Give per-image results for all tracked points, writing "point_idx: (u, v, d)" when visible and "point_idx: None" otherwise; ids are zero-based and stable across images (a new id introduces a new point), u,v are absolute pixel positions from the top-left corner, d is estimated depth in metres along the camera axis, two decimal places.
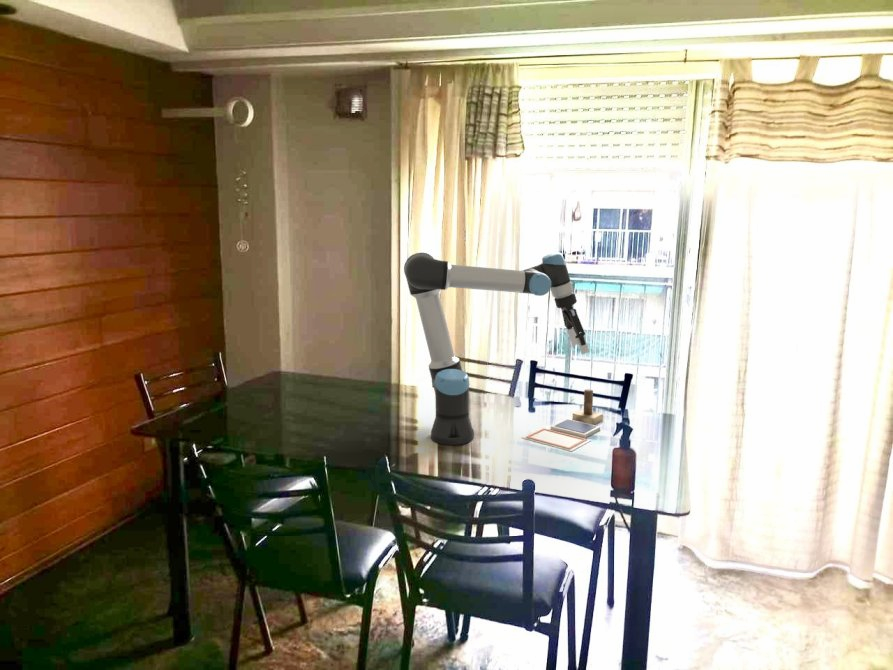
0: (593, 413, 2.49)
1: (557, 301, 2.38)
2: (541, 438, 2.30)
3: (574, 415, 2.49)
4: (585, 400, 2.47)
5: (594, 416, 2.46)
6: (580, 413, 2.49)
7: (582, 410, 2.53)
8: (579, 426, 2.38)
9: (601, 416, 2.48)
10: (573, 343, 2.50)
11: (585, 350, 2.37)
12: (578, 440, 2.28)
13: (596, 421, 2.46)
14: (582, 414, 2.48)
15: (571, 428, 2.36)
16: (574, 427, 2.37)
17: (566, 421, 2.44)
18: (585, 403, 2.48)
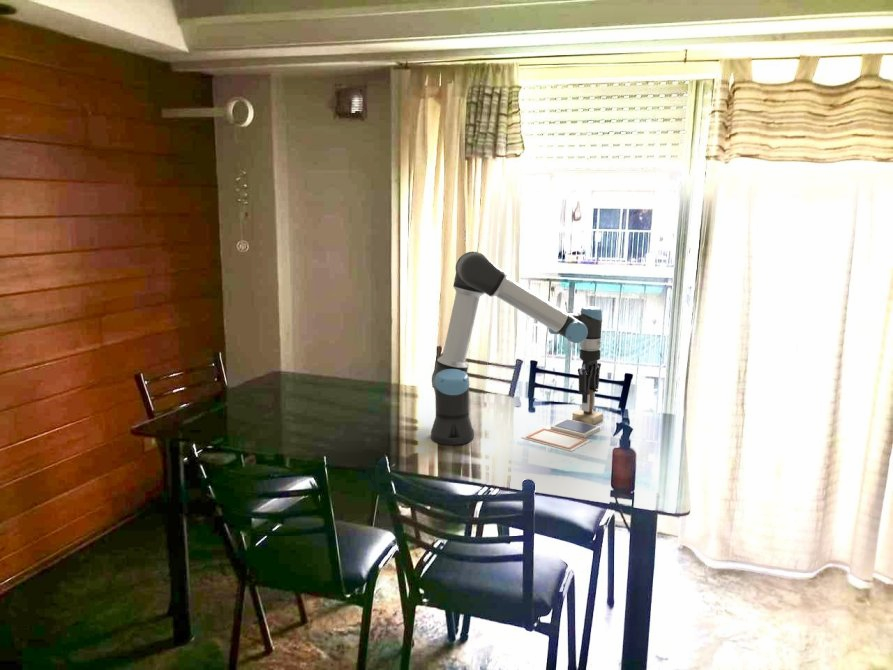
0: (593, 413, 2.49)
1: None
2: (541, 438, 2.30)
3: (574, 415, 2.49)
4: None
5: (594, 416, 2.46)
6: (580, 413, 2.49)
7: None
8: (579, 426, 2.38)
9: (601, 416, 2.48)
10: None
11: (585, 409, 2.47)
12: (578, 440, 2.28)
13: (596, 421, 2.46)
14: (582, 414, 2.48)
15: (571, 428, 2.36)
16: (574, 427, 2.37)
17: (566, 421, 2.44)
18: None
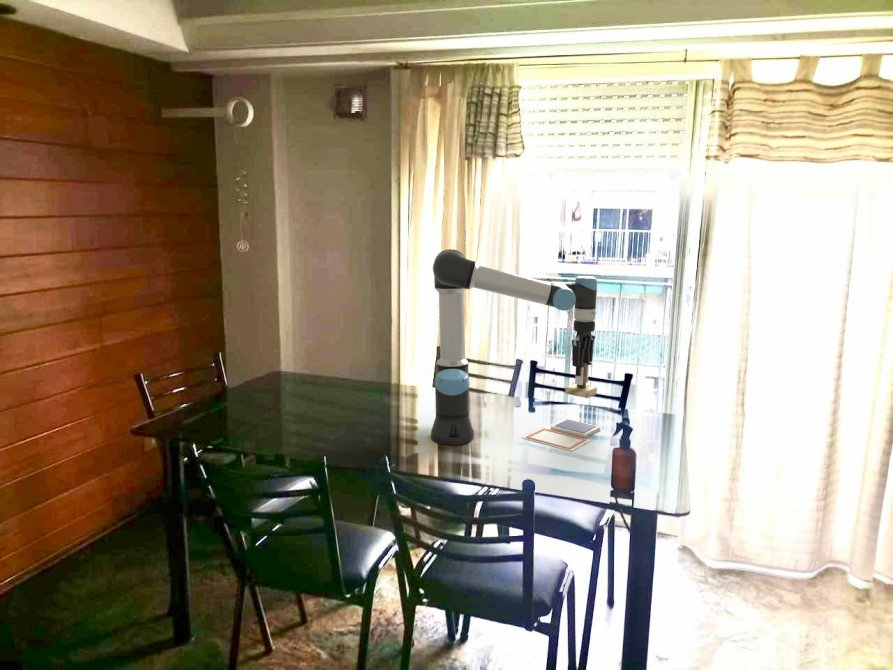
0: (587, 386, 2.42)
1: None
2: (541, 438, 2.30)
3: (567, 388, 2.41)
4: None
5: (588, 389, 2.38)
6: (573, 387, 2.41)
7: (575, 384, 2.45)
8: (579, 426, 2.38)
9: (595, 389, 2.41)
10: None
11: (578, 382, 2.39)
12: (578, 440, 2.28)
13: (590, 394, 2.38)
14: (575, 387, 2.41)
15: (571, 428, 2.36)
16: (574, 427, 2.37)
17: (566, 421, 2.44)
18: None
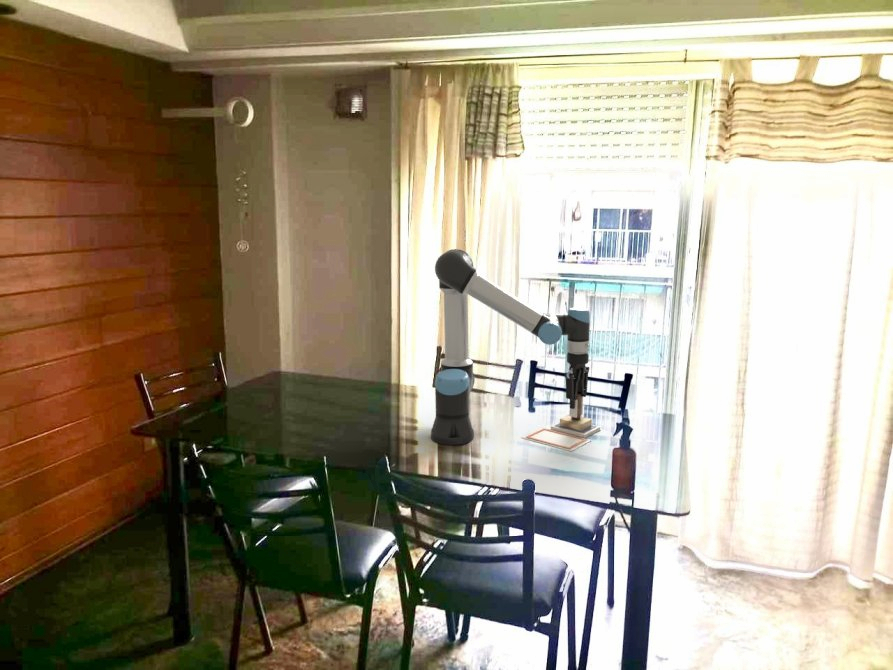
0: (581, 418, 2.39)
1: (567, 354, 2.35)
2: (541, 438, 2.30)
3: (561, 421, 2.38)
4: None
5: (582, 422, 2.35)
6: (568, 419, 2.38)
7: None
8: None
9: (589, 422, 2.37)
10: None
11: (573, 414, 2.36)
12: (578, 440, 2.28)
13: (584, 427, 2.35)
14: (570, 419, 2.37)
15: None
16: None
17: None
18: None
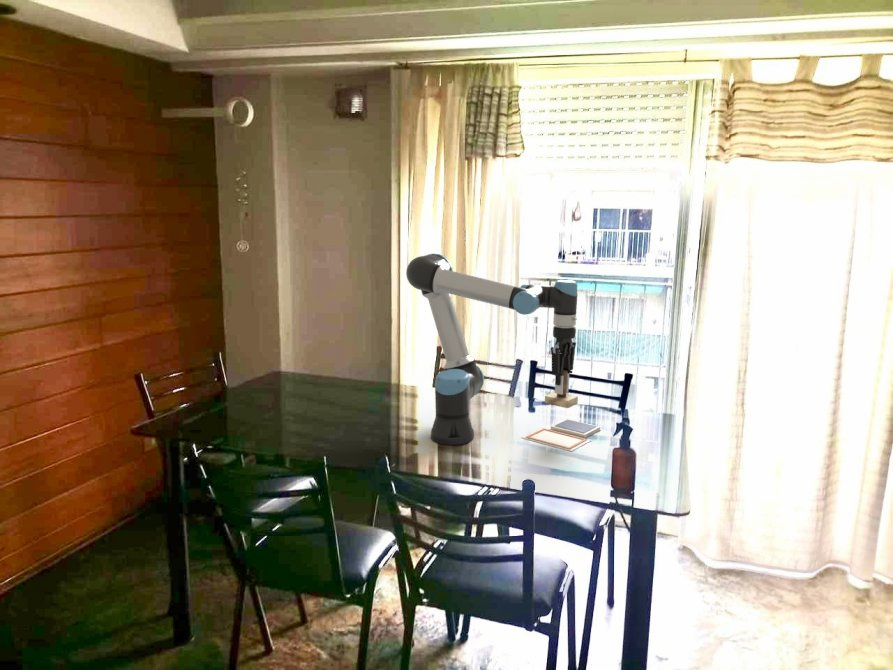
0: (567, 396, 2.30)
1: (553, 328, 2.26)
2: (541, 438, 2.30)
3: (546, 398, 2.30)
4: None
5: (568, 399, 2.26)
6: (553, 396, 2.29)
7: None
8: (579, 426, 2.38)
9: (576, 399, 2.29)
10: None
11: (558, 391, 2.27)
12: (578, 440, 2.28)
13: (570, 404, 2.26)
14: (555, 397, 2.29)
15: (571, 428, 2.36)
16: (574, 427, 2.37)
17: (566, 421, 2.44)
18: None
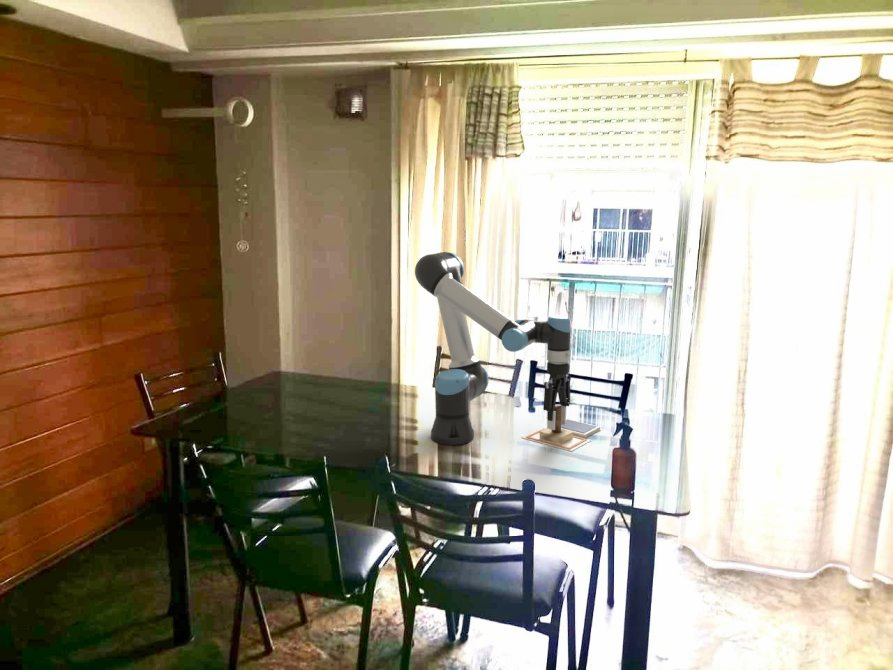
0: (562, 431, 2.29)
1: (547, 364, 2.25)
2: None
3: (541, 433, 2.29)
4: None
5: (563, 435, 2.26)
6: (548, 431, 2.29)
7: None
8: (579, 426, 2.38)
9: (570, 434, 2.28)
10: None
11: (551, 427, 2.26)
12: (578, 440, 2.28)
13: (565, 440, 2.25)
14: (550, 432, 2.28)
15: (571, 428, 2.36)
16: (574, 427, 2.37)
17: (566, 421, 2.44)
18: None
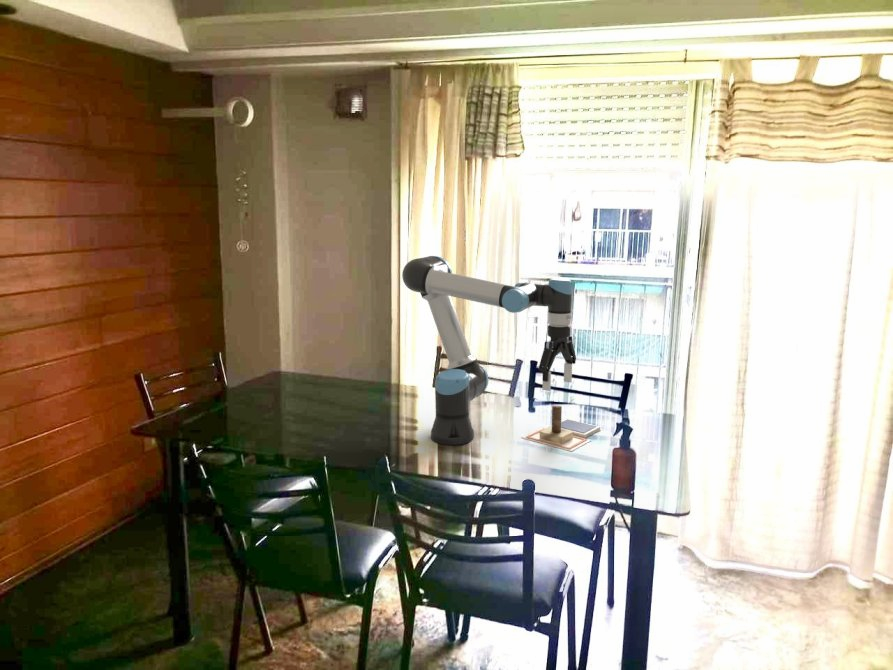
0: (562, 431, 2.29)
1: None
2: None
3: (541, 433, 2.29)
4: (553, 417, 2.27)
5: (563, 435, 2.26)
6: (548, 431, 2.29)
7: (550, 427, 2.33)
8: (579, 426, 2.38)
9: (570, 434, 2.28)
10: (565, 379, 2.31)
11: (546, 388, 2.20)
12: (578, 440, 2.28)
13: (565, 440, 2.25)
14: (550, 432, 2.28)
15: (571, 428, 2.36)
16: (574, 427, 2.37)
17: (566, 421, 2.44)
18: (553, 420, 2.27)
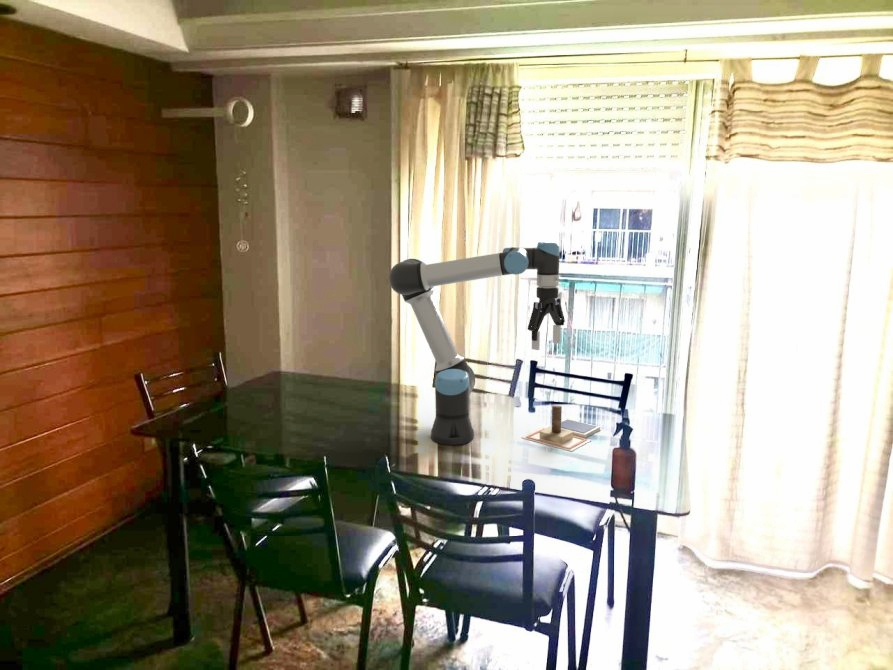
0: (562, 431, 2.29)
1: None
2: None
3: (541, 433, 2.29)
4: (553, 417, 2.27)
5: (563, 435, 2.26)
6: (548, 431, 2.29)
7: (550, 427, 2.33)
8: (579, 426, 2.38)
9: (570, 434, 2.28)
10: (554, 340, 2.39)
11: (535, 347, 2.29)
12: (578, 440, 2.28)
13: (565, 440, 2.25)
14: (550, 432, 2.28)
15: (571, 428, 2.36)
16: (574, 427, 2.37)
17: (566, 421, 2.44)
18: (553, 420, 2.27)
